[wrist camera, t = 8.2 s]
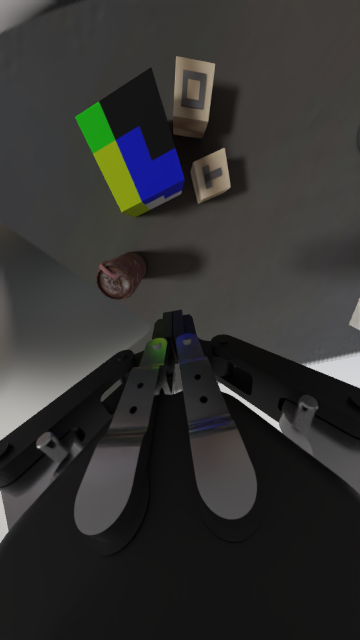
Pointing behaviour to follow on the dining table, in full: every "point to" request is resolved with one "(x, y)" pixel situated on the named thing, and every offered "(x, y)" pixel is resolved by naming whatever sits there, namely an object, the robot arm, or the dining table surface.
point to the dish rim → (356, 317)
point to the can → (121, 275)
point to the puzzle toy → (134, 145)
